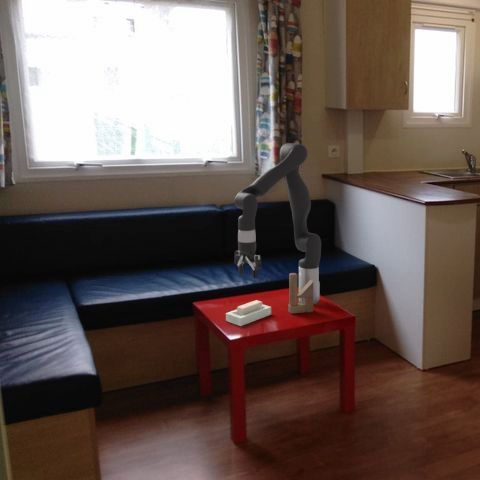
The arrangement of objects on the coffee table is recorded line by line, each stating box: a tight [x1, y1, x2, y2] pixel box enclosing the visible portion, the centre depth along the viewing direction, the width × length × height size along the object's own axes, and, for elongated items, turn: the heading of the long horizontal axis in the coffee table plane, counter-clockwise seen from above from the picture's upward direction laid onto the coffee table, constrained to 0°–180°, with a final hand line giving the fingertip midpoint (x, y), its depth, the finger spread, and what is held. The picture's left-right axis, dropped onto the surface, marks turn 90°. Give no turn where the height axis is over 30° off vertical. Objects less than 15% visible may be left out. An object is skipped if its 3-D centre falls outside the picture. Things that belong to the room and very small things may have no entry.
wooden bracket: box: [287, 272, 314, 314], centre depth 237 cm, size 4×11×18 cm, turn 102°
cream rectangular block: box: [236, 299, 263, 316], centre depth 233 cm, size 12×4×5 cm, turn 134°
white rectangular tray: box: [225, 303, 272, 327], centre depth 233 cm, size 19×9×4 cm, turn 134°
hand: (248, 276), depth 230 cm, fingers open, 8 cm apart
